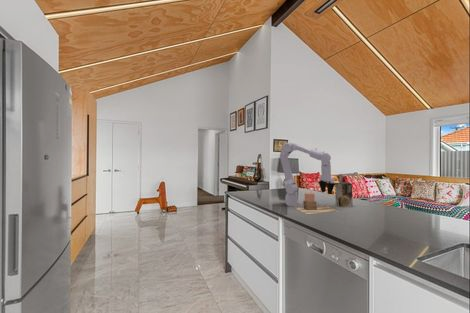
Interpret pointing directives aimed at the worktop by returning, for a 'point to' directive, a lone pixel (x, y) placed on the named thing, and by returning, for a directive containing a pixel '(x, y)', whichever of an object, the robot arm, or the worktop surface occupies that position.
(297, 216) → the worktop surface
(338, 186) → the coffee box
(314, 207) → the slab low
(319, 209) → the board
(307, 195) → the block
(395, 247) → the worktop surface
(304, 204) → the slab high
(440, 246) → the worktop surface
